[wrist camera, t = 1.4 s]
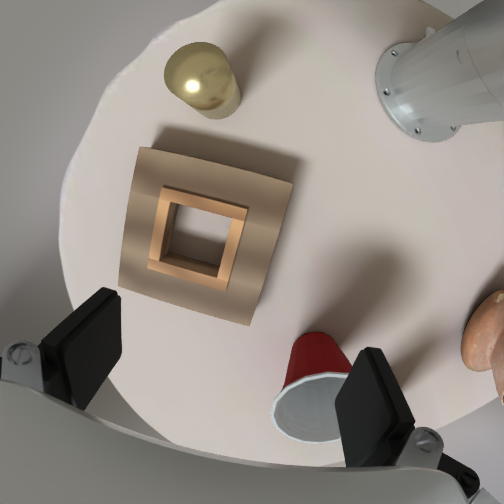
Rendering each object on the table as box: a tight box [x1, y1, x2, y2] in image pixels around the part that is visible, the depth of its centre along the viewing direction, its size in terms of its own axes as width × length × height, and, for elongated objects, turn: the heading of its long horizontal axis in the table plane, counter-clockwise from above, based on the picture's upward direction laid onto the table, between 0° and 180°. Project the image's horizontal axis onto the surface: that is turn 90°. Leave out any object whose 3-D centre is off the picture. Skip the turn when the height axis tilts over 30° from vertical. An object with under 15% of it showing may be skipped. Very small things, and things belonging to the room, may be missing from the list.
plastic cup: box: [270, 332, 352, 444], centre depth 30 cm, size 11×11×12 cm
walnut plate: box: [118, 147, 293, 326], centre depth 31 cm, size 16×16×3 cm
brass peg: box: [164, 42, 241, 119], centre depth 23 cm, size 5×5×10 cm
